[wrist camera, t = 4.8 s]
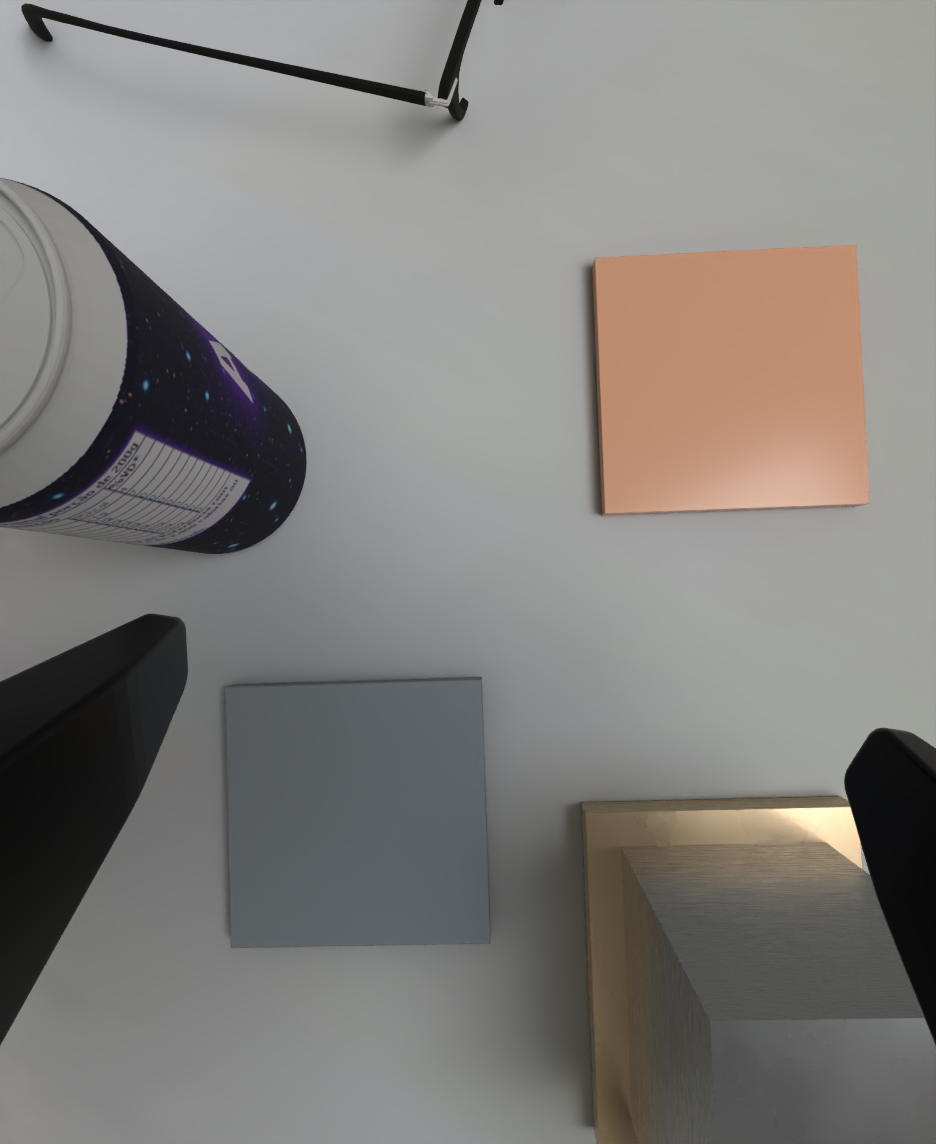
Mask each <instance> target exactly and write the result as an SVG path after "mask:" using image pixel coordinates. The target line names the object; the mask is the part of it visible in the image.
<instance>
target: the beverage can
mask: <svg viewBox="0 0 936 1144" xmlns="http://www.w3.org/2000/svg"><path fill="white" fill-rule="evenodd" d="M305 473H306V449H305V443H304V439H303V435H302V432H301V429H300V427H299V425H298V422H297V420H296V418H295V417H294V415H293V413H292V412H291V410H290V409H289V407H288V406H287V405H286V404H285V402H284V401H283V400H282V399H281V398H280V397H279V396H278V395H277V394H276V393H275V392H273V391H272V390H271V389H270V388H269V387H268V386H267V385H266V384H265V383H264V382H263V381H261V380H260V379H259V378H258V377H257V376H256V375H255V374H254V373H253V372H252V371H251V370H249V369H248V368H247V367H246V366H245V365H244V364H243V363H242V362H241V361H240V360H239V359H237V358H236V357H235V356H234V355H233V354H232V353H231V352H230V351H229V350H228V349H227V348H225V347H224V346H223V345H222V344H221V343H220V342H219V341H218V340H217V339H216V338H215V337H213V336H212V335H211V334H210V333H209V332H208V331H207V330H206V329H205V328H204V327H203V326H201V325H200V324H199V323H198V322H197V321H196V320H195V319H194V318H193V317H192V316H191V315H189V314H188V313H187V312H186V311H185V310H184V309H183V308H182V307H181V306H180V305H179V304H177V303H176V302H175V301H174V300H173V299H172V298H171V297H170V296H169V295H168V294H167V293H165V292H164V291H163V290H162V289H161V288H160V287H159V286H158V285H157V284H156V283H155V282H153V281H152V280H151V279H150V278H149V277H148V276H147V275H146V274H145V273H144V272H143V271H141V270H140V269H139V268H138V267H137V266H136V265H135V264H134V263H133V262H132V261H131V260H129V259H128V258H127V257H126V256H125V255H124V254H123V253H122V252H121V251H120V250H119V249H117V248H116V247H115V246H114V245H113V244H112V243H111V242H110V241H109V240H108V239H107V238H105V237H104V236H103V235H102V234H101V233H100V232H99V231H98V230H97V229H96V228H95V227H93V226H92V225H91V224H90V223H89V222H88V221H87V220H86V219H85V218H84V217H83V216H81V215H80V214H79V213H78V212H76V211H75V210H74V209H73V208H71V207H70V206H68V205H67V204H65V203H64V202H62V201H61V200H59V199H57V198H56V197H54V196H52V195H50V194H48V193H46V192H44V191H42V190H39V189H37V188H35V187H32V186H29V185H26V184H23V183H20V182H16V181H12V180H8V179H4V178H0V527H7V528H14V529H22V530H30V531H37V532H45V533H53V534H60V535H68V536H76V537H83V538H91V539H99V540H107V541H114V542H122V543H130V544H137V545H145V546H153V547H160V548H168V549H176V550H184V551H191V552H199V553H207V554H222V553H230V552H235V551H239V550H242V549H245V548H248V547H250V546H252V545H254V544H257V543H258V542H260V541H262V540H263V539H265V538H266V537H268V536H269V535H270V534H272V533H273V532H274V531H275V530H276V529H277V528H279V527H280V525H281V524H282V523H283V522H284V521H285V520H286V518H287V517H288V516H289V514H290V513H291V512H292V510H293V508H294V506H295V505H296V503H297V501H298V498H299V496H300V493H301V491H302V487H303V484H304V479H305Z"/></svg>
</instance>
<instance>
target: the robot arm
mask: <svg viewBox="0 0 936 1144" xmlns="http://www.w3.org/2000/svg"><path fill="white" fill-rule="evenodd" d="M187 675H188V662H187V642H186V627H185V624H184V622H183V621H182V620H181V619H180V618H178V617H171V616H165V615H158V614H146V615H144V616H141V617H139V618H137V619H135V620H133V621H131V622H128V623H126V624H124V625H122V626H120V627H118V628H115V629H113V630H111V631H109V632H107V633H105V634H102V635H100V636H98V637H96V638H94V639H92V640H90V641H87V642H85V643H83V644H81V645H79V646H77V647H74V648H72V649H70V650H68V651H66V652H64V653H61V654H59V655H57V656H55V657H53V658H51V659H48V660H46V661H44V662H42V663H40V664H38V665H36V666H33V667H31V668H29V669H27V670H25V671H23V672H20V673H18V674H16V675H14V676H12V677H10V678H7V679H5V680H3V681H1V682H0V1045H1V1043H2V1042H3V1040H4V1038H5V1036H6V1034H7V1033H8V1031H9V1029H10V1027H11V1025H12V1024H13V1022H14V1020H15V1018H16V1016H17V1015H18V1013H19V1011H20V1009H21V1008H22V1006H23V1004H24V1002H25V1000H26V999H27V997H28V995H29V993H30V991H31V990H32V988H33V986H34V984H35V983H36V981H37V979H38V977H39V975H40V974H41V972H42V970H43V968H44V966H45V965H46V963H47V961H48V959H49V958H50V956H51V954H52V952H53V950H54V949H55V947H56V945H57V943H58V941H59V940H60V938H61V936H62V934H63V933H64V931H65V929H66V927H67V925H68V924H69V922H70V920H71V918H72V916H73V915H74V913H75V911H76V909H77V907H78V906H79V904H80V902H81V900H82V899H83V897H84V895H85V893H86V891H87V890H88V888H89V886H90V884H91V882H92V881H93V879H94V877H95V875H96V874H97V872H98V870H99V868H100V866H101V865H102V863H103V861H104V859H105V857H106V856H107V854H108V852H109V850H110V849H111V847H112V845H113V843H114V841H115V840H116V838H117V836H118V834H119V832H120V831H121V829H122V827H123V825H124V823H125V822H126V820H127V818H128V816H129V815H130V813H131V811H132V809H133V807H134V805H135V803H136V801H137V799H138V797H139V795H140V793H141V791H142V789H143V786H144V784H145V782H146V780H147V777H148V775H149V773H150V770H151V768H152V765H153V763H154V761H155V758H156V756H157V753H158V751H159V749H160V746H161V744H162V741H163V739H164V737H165V734H166V732H167V729H168V727H169V725H170V722H171V720H172V717H173V715H174V713H175V710H176V708H177V705H178V703H179V701H180V698H181V696H182V693H183V691H184V688H185V685H186V681H187ZM844 784H845V791H846V794H847V798H848V801H849V804H850V808H851V811H852V815H853V818H854V822H855V825H856V828H857V832H858V835H859V839H860V842H861V845H862V849H863V852H864V856H865V859H866V863H867V866H868V869H869V873H870V876H871V880H872V883H873V886H874V889H875V892H876V895H877V899H878V901H879V904H880V907H881V909H882V912H883V915H884V918H885V920H886V923H887V925H888V928H889V930H890V933H891V935H892V938H893V940H894V943H895V945H896V948H897V950H898V953H899V955H900V958H901V960H902V963H903V965H904V968H905V970H906V973H907V975H908V978H909V980H910V983H911V985H912V988H913V990H914V993H915V995H916V998H917V1000H918V1003H919V1005H920V1008H921V1010H922V1013H923V1015H924V1018H925V1020H926V1023H927V1025H928V1028H929V1030H930V1033H931V1035H932V1038H933V1040H934V1043H935V1045H936V748H934V747H933V746H931V745H930V744H928V743H927V742H925V741H924V740H922V739H921V738H919V737H918V736H916V735H915V734H913V733H910V732H907V731H902V730H895V729H889V728H878V729H875V730H874V731H872V732H871V733H870V734H869V736H868V737H867V739H866V740H865V742H864V743H863V745H862V747H861V748H860V750H859V751H858V753H857V754H856V756H855V757H854V759H853V760H852V762H851V764H850V765H849V767H848V768H847V770H846V774H845V780H844Z"/></svg>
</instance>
